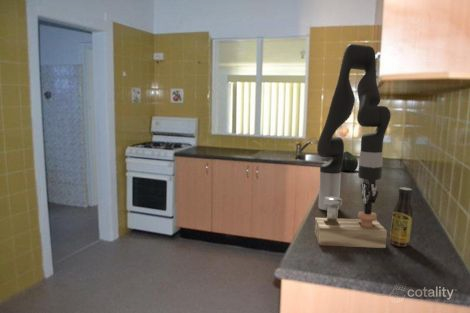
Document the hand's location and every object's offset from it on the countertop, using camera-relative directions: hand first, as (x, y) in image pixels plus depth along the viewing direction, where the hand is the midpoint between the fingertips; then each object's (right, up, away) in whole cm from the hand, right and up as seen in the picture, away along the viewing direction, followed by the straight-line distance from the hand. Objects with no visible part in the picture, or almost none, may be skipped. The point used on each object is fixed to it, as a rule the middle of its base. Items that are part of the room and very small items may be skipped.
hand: (367, 213), depth 130 cm
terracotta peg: (0, -8, +1) cm, 8 cm away
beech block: (-6, -10, +2) cm, 12 cm away
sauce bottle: (+11, -11, -1) cm, 15 cm away
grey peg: (-12, -3, +1) cm, 12 cm away
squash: (+36, +9, +145) cm, 149 cm away
